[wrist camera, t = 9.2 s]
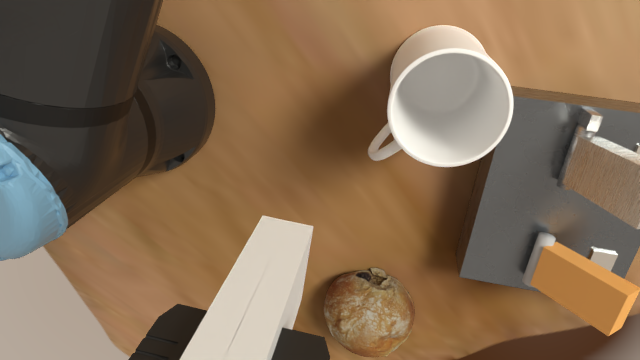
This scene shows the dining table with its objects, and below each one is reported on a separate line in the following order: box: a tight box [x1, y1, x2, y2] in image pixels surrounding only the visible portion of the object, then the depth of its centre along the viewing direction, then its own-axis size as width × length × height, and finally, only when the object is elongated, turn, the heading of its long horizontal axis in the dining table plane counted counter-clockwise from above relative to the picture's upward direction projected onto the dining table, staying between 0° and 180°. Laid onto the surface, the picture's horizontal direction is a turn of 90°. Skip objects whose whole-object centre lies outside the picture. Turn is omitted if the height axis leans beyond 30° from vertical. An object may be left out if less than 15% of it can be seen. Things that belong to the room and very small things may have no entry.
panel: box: [456, 86, 640, 292], centre depth 37 cm, size 14×18×12 cm
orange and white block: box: [522, 232, 640, 336], centre depth 38 cm, size 2×5×8 cm
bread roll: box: [324, 268, 415, 357], centre depth 50 cm, size 10×10×8 cm
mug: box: [368, 25, 514, 167], centre depth 36 cm, size 12×8×12 cm
